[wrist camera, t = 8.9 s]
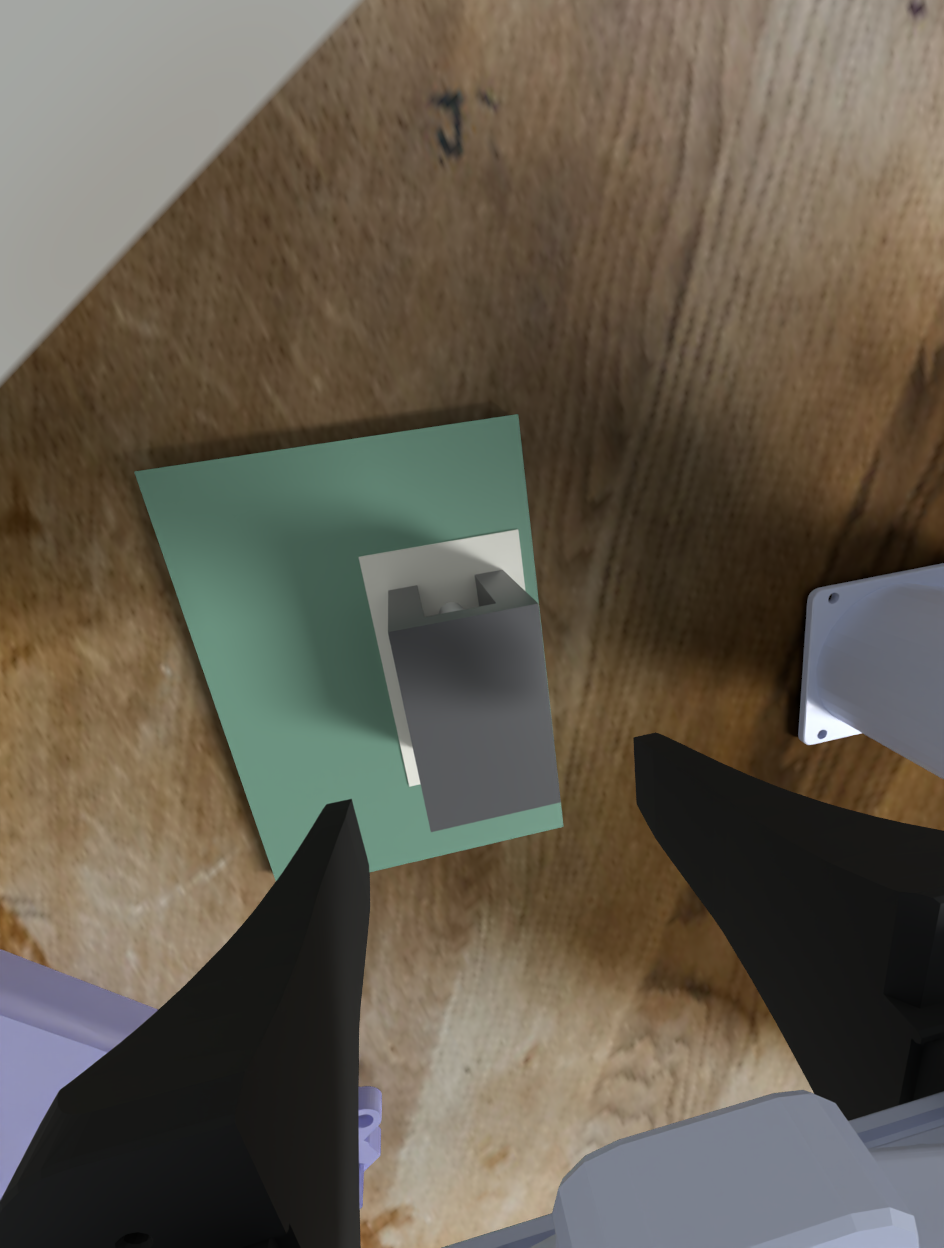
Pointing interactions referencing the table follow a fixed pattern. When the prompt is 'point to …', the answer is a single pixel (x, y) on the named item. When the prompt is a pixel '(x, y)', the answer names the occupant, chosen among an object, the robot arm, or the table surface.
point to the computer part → (81, 1052)
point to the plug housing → (476, 702)
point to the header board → (339, 613)
